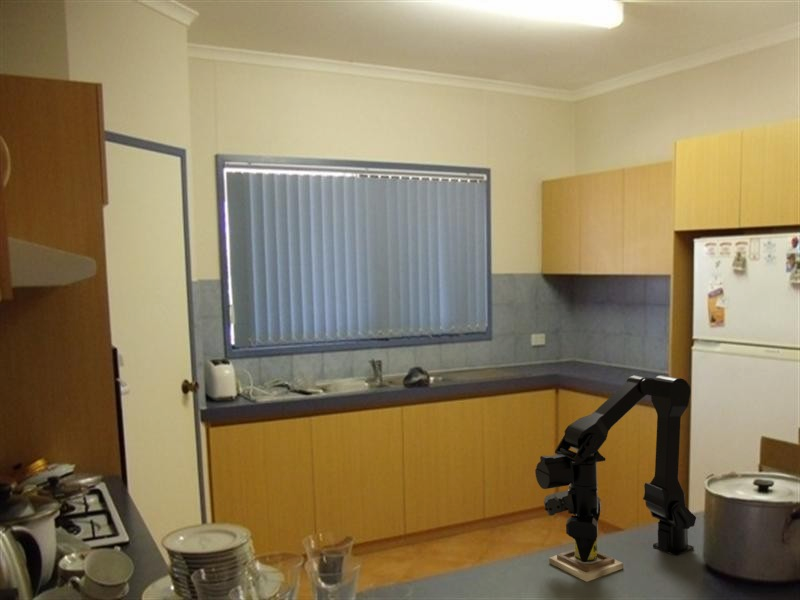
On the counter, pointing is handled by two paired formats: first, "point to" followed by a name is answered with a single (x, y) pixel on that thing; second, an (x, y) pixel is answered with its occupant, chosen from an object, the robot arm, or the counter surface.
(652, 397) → the robot arm
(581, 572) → the coaster board
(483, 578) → the counter surface
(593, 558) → the supplement bottle
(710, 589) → the counter surface
